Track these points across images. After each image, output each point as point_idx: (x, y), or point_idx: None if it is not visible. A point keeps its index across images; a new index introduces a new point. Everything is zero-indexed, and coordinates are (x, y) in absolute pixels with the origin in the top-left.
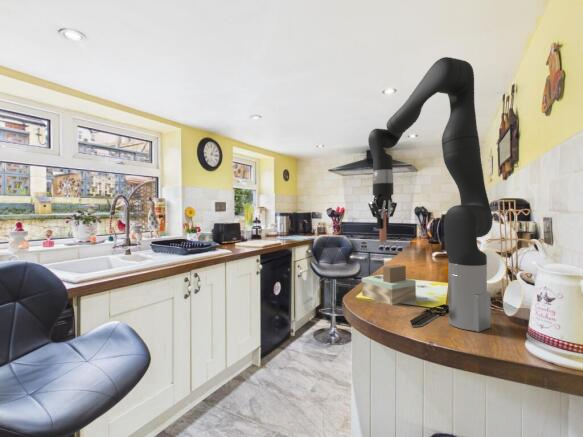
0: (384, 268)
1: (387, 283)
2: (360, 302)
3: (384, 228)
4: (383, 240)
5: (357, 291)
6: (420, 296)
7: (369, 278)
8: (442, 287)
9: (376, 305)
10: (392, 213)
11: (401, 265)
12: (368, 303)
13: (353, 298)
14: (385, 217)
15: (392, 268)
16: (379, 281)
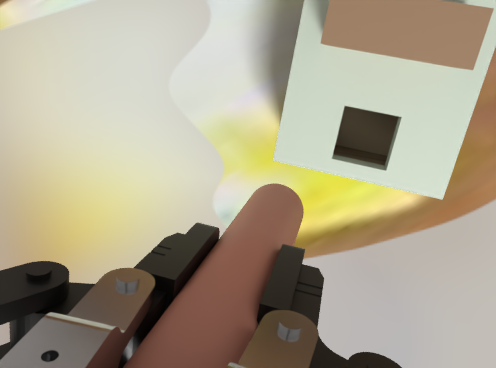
0: (475, 58)
1: (490, 20)
2: (492, 140)
3: (266, 235)
4: (295, 198)
5: (339, 239)
6: (227, 3)
7: (430, 161)
8: (33, 11)
9: (490, 65)
10: (5, 287)
11: (337, 12)
12: (484, 107)
13: (453, 195)
14: (208, 301)
15: (466, 4)
16: (469, 80)
